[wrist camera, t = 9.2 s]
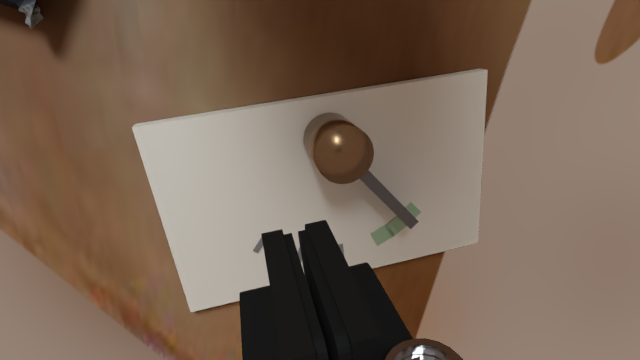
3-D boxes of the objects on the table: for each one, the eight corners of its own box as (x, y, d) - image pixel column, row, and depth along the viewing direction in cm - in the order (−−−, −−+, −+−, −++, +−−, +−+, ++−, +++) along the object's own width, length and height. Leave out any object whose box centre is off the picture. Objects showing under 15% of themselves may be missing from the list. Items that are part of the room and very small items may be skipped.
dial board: (135, 124, 30) (131, 128, 29) (479, 68, 35) (488, 70, 34) (191, 304, 37) (190, 313, 36) (471, 237, 42) (479, 243, 41)
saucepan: (292, 139, 32) (303, 157, 27) (330, 101, 31) (347, 113, 27) (384, 226, 37) (406, 254, 33) (417, 194, 37) (444, 218, 32)
